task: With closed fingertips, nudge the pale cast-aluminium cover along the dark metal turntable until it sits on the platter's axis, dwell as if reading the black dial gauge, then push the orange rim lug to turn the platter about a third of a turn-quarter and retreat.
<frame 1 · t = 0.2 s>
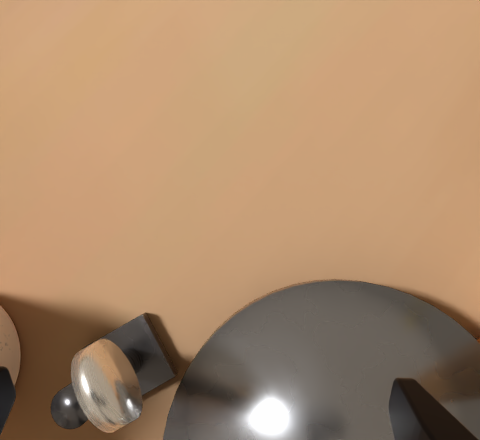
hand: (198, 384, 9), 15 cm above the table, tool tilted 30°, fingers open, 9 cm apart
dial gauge: (132, 359, 24), on the table
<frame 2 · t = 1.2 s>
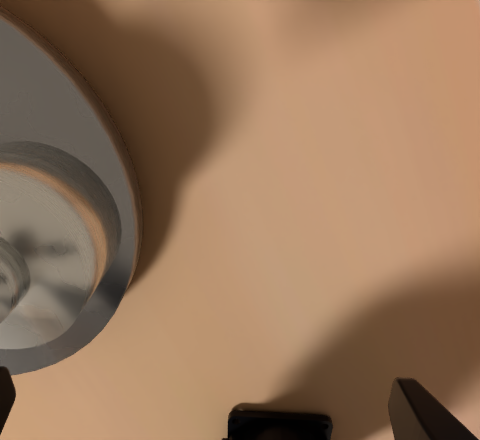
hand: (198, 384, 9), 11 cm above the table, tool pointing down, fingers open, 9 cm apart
cover: (41, 221, 17), point 2 cm above the table, touching platter
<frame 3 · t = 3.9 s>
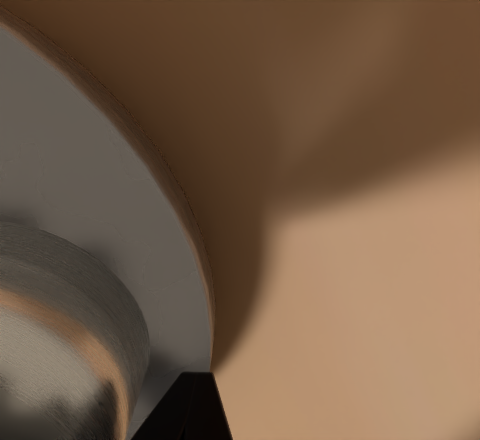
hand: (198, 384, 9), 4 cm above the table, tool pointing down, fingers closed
cover: (22, 336, 11), point 3 cm above the table, touching gripper
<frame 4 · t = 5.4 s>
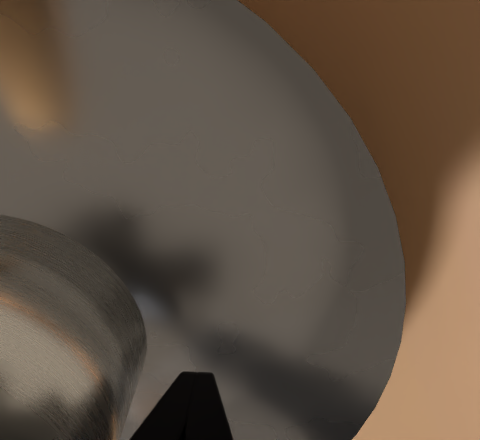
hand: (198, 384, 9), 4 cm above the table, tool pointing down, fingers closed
cover: (17, 331, 11), point 2 cm above the table, touching gripper, platter
platter: (12, 313, 9), point 3 cm above the table, hinge at 0.2°, touching cover
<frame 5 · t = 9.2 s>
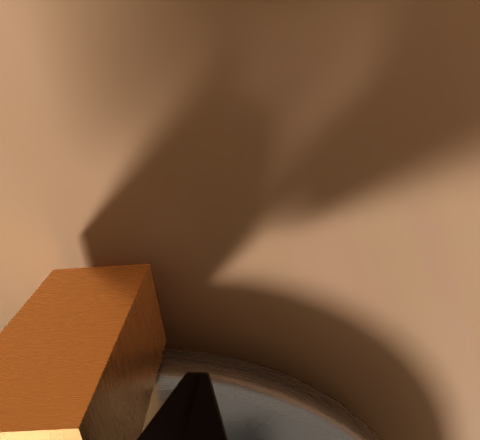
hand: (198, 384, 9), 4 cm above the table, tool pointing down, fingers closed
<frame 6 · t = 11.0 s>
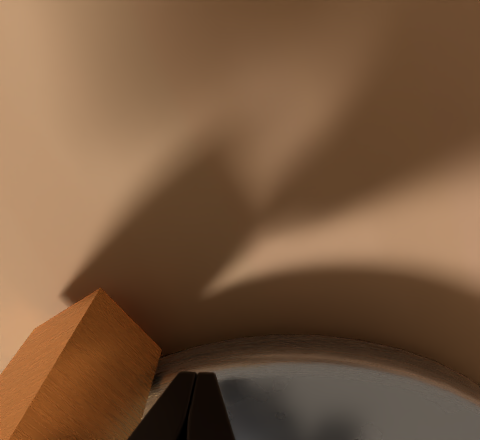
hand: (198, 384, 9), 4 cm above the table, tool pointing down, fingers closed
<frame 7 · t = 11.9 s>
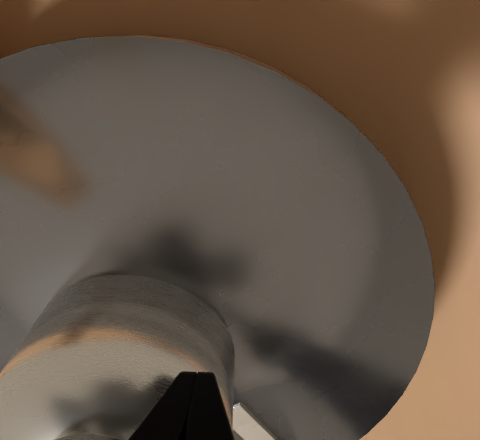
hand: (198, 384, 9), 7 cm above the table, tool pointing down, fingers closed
cover: (136, 355, 14), point 3 cm above the table, touching gripper
platter: (118, 325, 13), point 3 cm above the table, hinge at 34.9°
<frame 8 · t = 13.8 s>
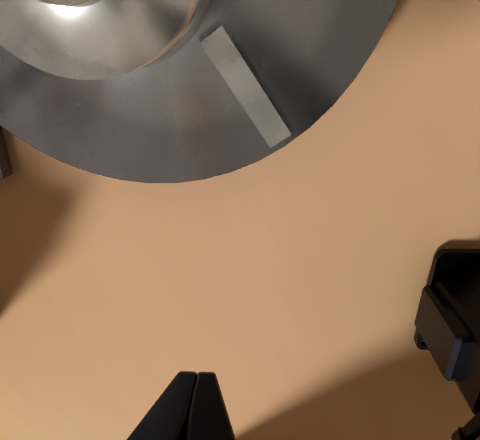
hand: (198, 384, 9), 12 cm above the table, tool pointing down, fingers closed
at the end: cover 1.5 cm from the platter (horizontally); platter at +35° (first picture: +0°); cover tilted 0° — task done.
